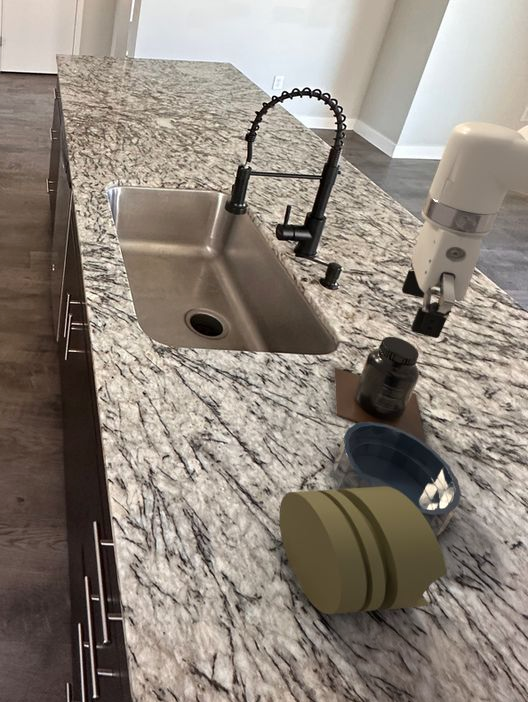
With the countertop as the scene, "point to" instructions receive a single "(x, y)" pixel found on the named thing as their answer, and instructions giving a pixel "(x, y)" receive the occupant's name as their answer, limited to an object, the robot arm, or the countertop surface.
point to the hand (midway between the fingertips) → (418, 313)
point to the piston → (359, 549)
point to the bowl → (398, 469)
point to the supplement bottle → (388, 379)
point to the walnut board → (355, 412)
